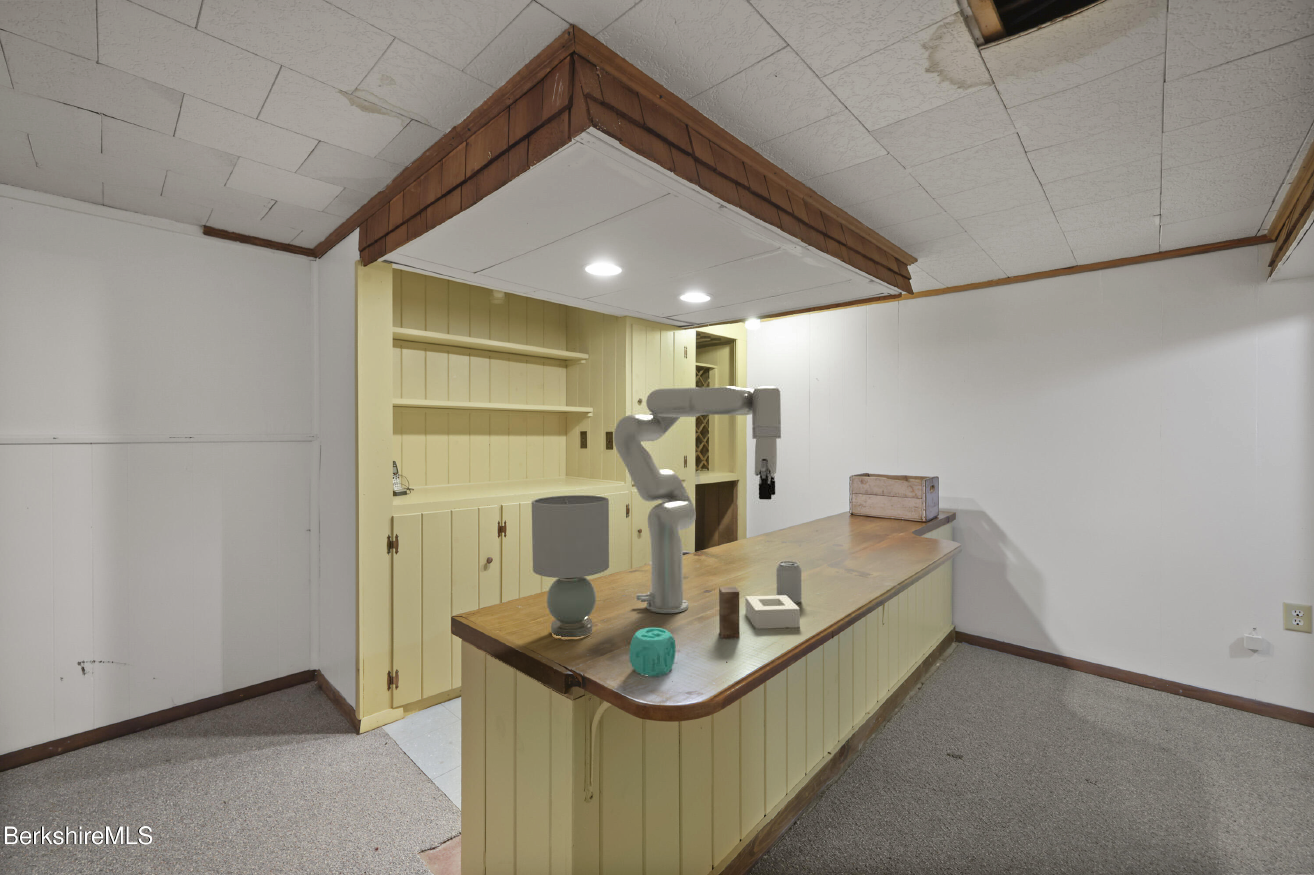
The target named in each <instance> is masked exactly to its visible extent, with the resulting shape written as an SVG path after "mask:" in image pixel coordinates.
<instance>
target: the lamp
mask: <svg viewBox="0 0 1314 875" xmlns="http://www.w3.org/2000/svg"><path fill="white" fill-rule="evenodd" d="M609 501H610V500H609V498H608V497H604V496H601V495H600V496H599V495H589V494H588V495H586V494H585V495H583V494H578V495H577V494H574V495H573V494H572V495H570V494H569V495H554V496H553V495H552V496H545V497H539V498H535V499H533V500H532V501H531V539H532V540H531V542H532V545H531V546H532V572H533V574H536V575H538V576H541V577H546V578H552V579H553V578H554V579H555V580H554V581H553V582H552V583H551V585H550V586H549V588H548V590H547V594H546V606H547V609H548V612H549V614H550V615H551V617H552V618H554V620H553V621H552V622H551V623H550V633H551V632H552V633H553V634H554V635H556V636H561V637H581V636H586V635H588V634H590V633H591V632H592V630H593V619H591V617H590V616H591V614H592V613H593V611H594V609H595V606H596V602H597V594H596V589H595V586H594V585H593V583H592V582H591V581H590V579H588V578H587V577H590V576H591V577H592V576H594V575H598V574H602V573H604V572H605V571H607V570H608V569H609V568H610V523H609V522H610V520H609V518H610V506H609V505H610V504H609V503H610V502H609ZM592 633H593V632H592Z"/></svg>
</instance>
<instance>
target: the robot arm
mask: <svg viewBox="0 0 1314 875" xmlns="http://www.w3.org/2000/svg"><path fill="white" fill-rule="evenodd" d="M781 403H782V402H781V391H780V389H779V387H775V386H759V387H755V388H754V389H753V388H744V387H737V386H711V387H677V388H676V387H675V388H674V387H670V388H668V387H667V388H658V389H654V390H652V391H651V392H650V393H649V394H648V396H647V398H646V402H645V404H646V407H647V410H648V411H649V413H650V414H638V413H637V414H628V415H626V416H623V417H622V418H621V419H620V420H618V422H617V423H616V426H615V429H614V433H613V442H614V446H615V449H616V451H617V453H618V455H619V457H620V459H621V460H622V462H623V465H624V466H625V467H626V470H627V472H628V474H629V476H630V477H629V478H631V481H632V483H633V484H634V487H635V489H636V491H637V493H638V495H639V496H640V498H641V499H642V500H643V501H645V502H650V503H651V502H657V501H661V503H657V504H655V505H654V506H653V507H652V508H651V509H650V510H649V512H648V516H647V525H648V526H647V528H648V532H649V537H650V539H649V541H650V558H651V559H650V560H651V561H650V565H651V566H650V567H651V568H650V569H651V574H650V575H651V583H650V585H651V586H650V587H651V589H649V592H646V593H636V595H635V596H636V598H635V599H636V601H640V602H641V603H646V608H647V610H649V611H650V612H653V613H657V614H658V613H659V614H677V613H682V612H684V611H686V610H687V609H688V608H689V602H688V601H687V600H685V599H684V575H683V574H684V572H683V571H684V562H683V557H684V556H683V555H684V554H683V552H684V550H683V549H684V548H683V543H682V539H681V536H680V531H683V530H685V529H689V528H690V527H692V526H693V525H694V523H695V521H696V518H697V517H696V515H697V513H696V508H695V505H694V503H693V501H692V499H691V497H690V496H689V493H688V492H687V489H686V488H685V486H684V484H683V482H682V480H681V478H680V477H679V475H678V474H677V473H676V472H674V471H673V470H671V469H668V468H661V469H659V468H658V466H657V464H656V463H655V461H654V459H653V457H652V455H651V453H650V452H649V451H648V450H647V449H646V448H645V447H644V445H643V444H642V442H643V443H644V442H655V441H657V440H659V439H662V437H663V436H665V434H667V433H668V432H669V430H670V429H671V428H672V427H673V426H674V425H675V424H676V423H677V422H678V421H679V420H680V418H697V417H699V416H703V415H705V416H707V415H709V416H710V415H711V416H716V415H717V416H718V415H719V416H749V415H751V422H752V424H751V429H752V434H751V435H752V436H751V438H752V440H755V447H754V448H755V449H754V476H756V477H758V476H759V477H758V478H759V481H758V499H759V500H766V501H767V500H768V501H770V500H771V499H772V496H775V495H776V480H775V479H776V478H775V474H776V473H777V461H778V460H777V459H778V454H777V452H778V451H777V450H778V448H777V446H778V445H777V444H778V443H777V440H778V439H780V440H781V439H782V425H781V424H782V423H781V422H782V418H781V416H782V414H781V411H782V410H781V409H782V408H781V405H782V404H781Z"/></svg>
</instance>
